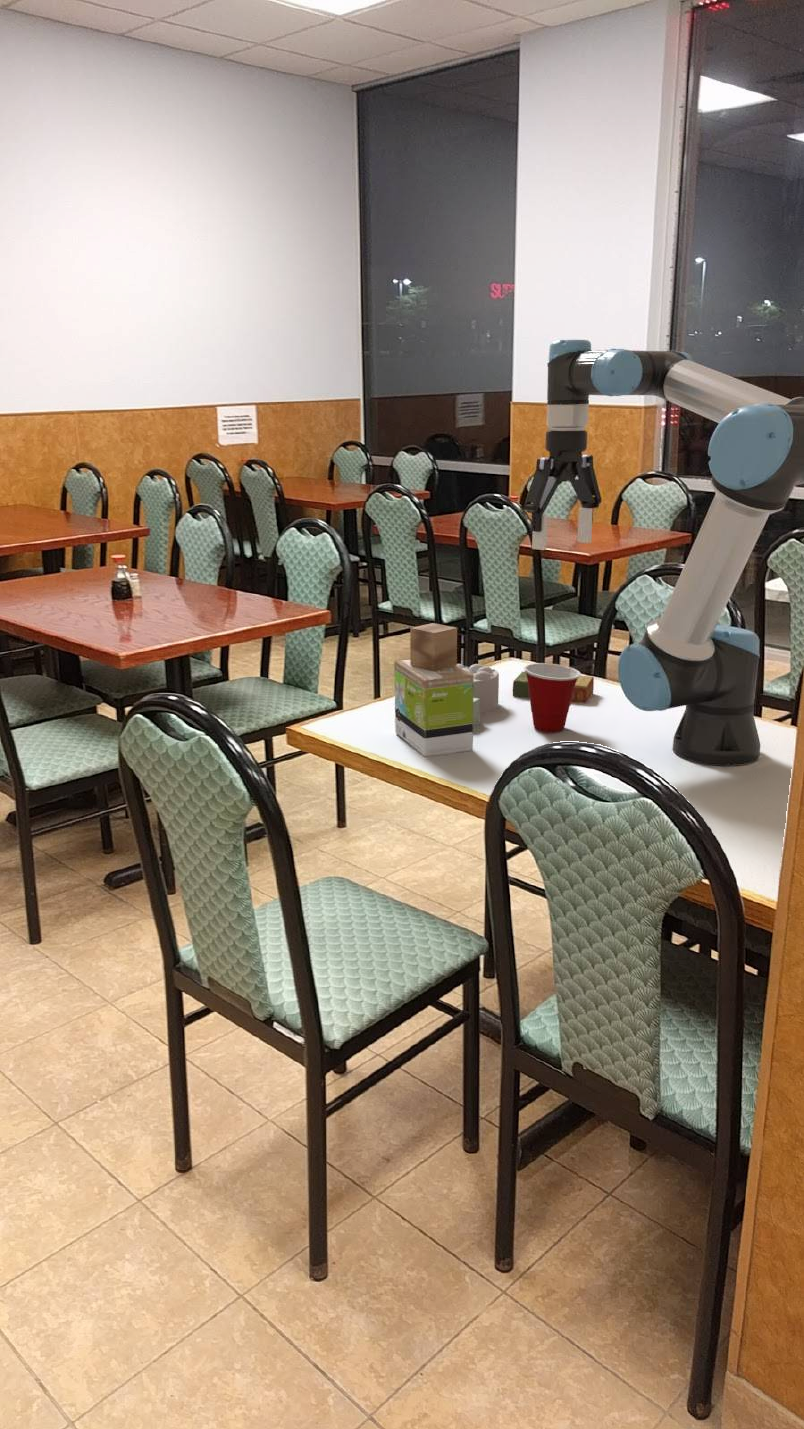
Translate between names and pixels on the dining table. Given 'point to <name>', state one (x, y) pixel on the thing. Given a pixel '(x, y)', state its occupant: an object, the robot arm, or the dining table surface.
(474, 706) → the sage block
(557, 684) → the plastic cup
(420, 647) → the brown box
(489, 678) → the lumpy-topped squat cylinder
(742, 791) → the dining table surface
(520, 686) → the carton
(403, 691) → the tea box
